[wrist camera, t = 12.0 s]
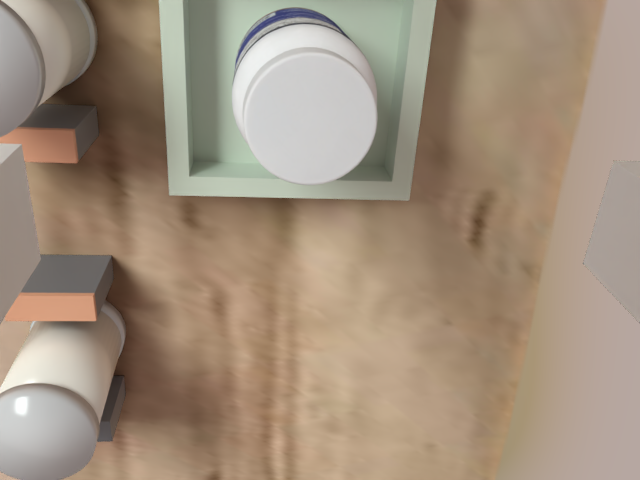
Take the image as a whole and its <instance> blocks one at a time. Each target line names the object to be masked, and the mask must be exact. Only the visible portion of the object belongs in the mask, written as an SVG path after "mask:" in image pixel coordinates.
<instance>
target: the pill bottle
mask: <svg viewBox="0 0 640 480" xmlns="http://www.w3.org/2000/svg"><path fill="white" fill-rule="evenodd" d="M232 107H233V113H234V117H235V121H236V124H237V126H238V129H239V131H240V133H241V135H242V136H243V138H244V140H245V141H246V143H247V144H248V145H249V147H250V149H251V151H252V153H253V154H254V156H255V157H256V159H257V160H258V161H259V163H260V164H261V165H262V166H263V167H264V168H265V169H266V170H268V171H269V172H270V173H272V174H273V175H275V176H277V177H278V178H280V179H282V180H285V181H287V182H291V183H295V184H300V185H319V184H324V183H328V182H331V181H334V180H336V179H339V178H341V177H342V176H344V175H346V174H347V173H349V172H350V171H351V170H353V169H354V168H355V167H356V166H357V165H358V164H359V163H360V162H361V161H362V159H363V158H364V157H365V155H366V154H367V153H368V151H369V149H370V147H371V145H372V142H373V140H374V137H375V133H376V128H377V88H376V82H375V78H374V75H373V72H372V69H371V67H370V65H369V62H368V60H367V59H366V57H365V55H364V54H363V53H362V51H361V50H360V49H359V48H358V47H357V46H356V44H355V43H354V42H353V41H352V40H351V39H350V38H349V37H348V36H347V35H346V34H345V33H344V32H343V31H342V30H341V28H340V27H339V26H338V25H337V24H336V23H335V22H333V21H332V20H331V19H329V18H328V17H326V16H325V15H323V14H321V13H319V12H317V11H314V10H311V9H307V8H302V7H289V8H282V9H278V10H275V11H273V12H270V13H268V14H266V15H265V16H263V17H261V18H260V19H259V20H258V21H256V22H255V23H254V24H253V25H252V26H251V28H250V29H249V30H248V31H247V33H246V34H245V36H244V38H243V39H242V41H241V44H240V46H239V49H238V52H237V56H236V63H235V72H234V78H233V87H232Z"/></svg>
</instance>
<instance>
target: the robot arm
mask: <svg viewBox="0 0 640 480" xmlns="http://www.w3.org/2000/svg"><path fill="white" fill-rule="evenodd" d="M40 260H41V256H40V250H39V244H38V238H37V232H36V227H35V221H34V215H33V209H32V203H31V197H30V191H29V185H28V179H27V173H26V167H25V161H24V155H23V149H22V144H3V143H0V324H1V322H2V321H3V319H4V317H5V316H6V314H7V313H8V311H9V309H10V308H11V306H12V305H13V303H14V301H15V300H16V298H17V297H18V295H19V294H20V292H21V290H22V289H23V287H24V286H25V284H26V282H27V281H28V279H29V278H30V276H31V274H32V273H33V271H34V270H35V268H36V266H37V265H38V263H39V262H40ZM583 264H584V265H585V266H586V267H587V269H588V270H590V272H591V273H592V274H593V275H594V276H595V277H596V278H597V279H598V280H599V281H600V282H601V283H602V284H603V285H604V286H605V288H607V290H608V291H609V292H610V293H611V294H612V295H613V296H614V297H615V298H616V299H617V300H618V301H619V302H620V303H621V304H622V305H623V306H624V307H625V309H627V311H628V312H629V313H630V314H631V315H632V316H633V317H634V318H635V319H636V320H637V321H638V322H639V323H640V161H613V164H612V167H611V171H610V174H609V178H608V181H607V184H606V188H605V191H604V194H603V198H602V201H601V205H600V208H599V211H598V214H597V218H596V221H595V225H594V228H593V231H592V235H591V238H590V241H589V245H588V248H587V252H586V255H585V258H584V262H583Z"/></svg>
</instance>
